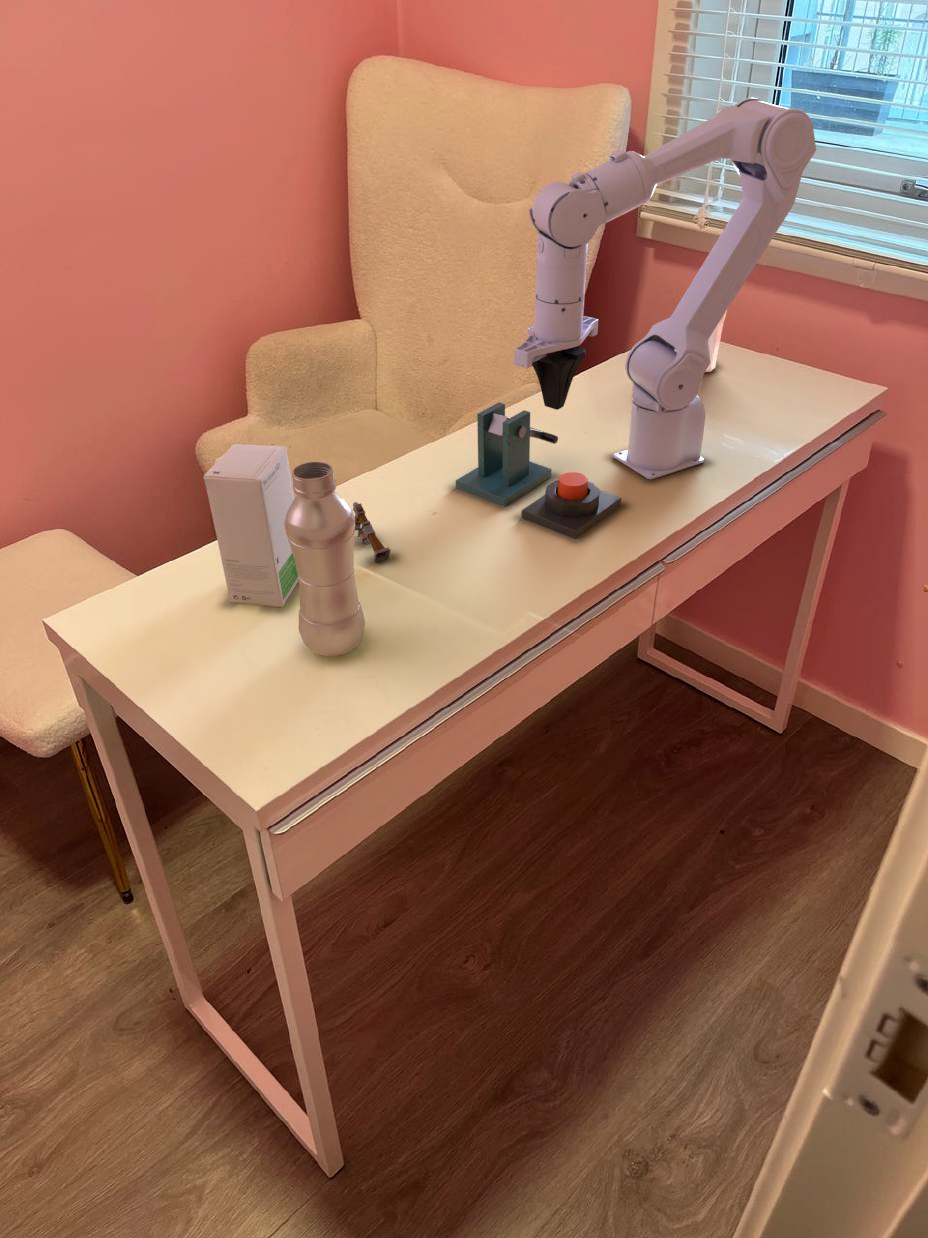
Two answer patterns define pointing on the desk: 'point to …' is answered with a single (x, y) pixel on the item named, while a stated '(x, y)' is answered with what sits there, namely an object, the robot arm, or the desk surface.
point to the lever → (497, 429)
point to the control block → (571, 510)
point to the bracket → (503, 460)
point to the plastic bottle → (324, 562)
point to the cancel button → (572, 485)
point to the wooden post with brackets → (368, 533)
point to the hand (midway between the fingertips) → (554, 406)
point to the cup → (715, 344)
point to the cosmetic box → (253, 523)
